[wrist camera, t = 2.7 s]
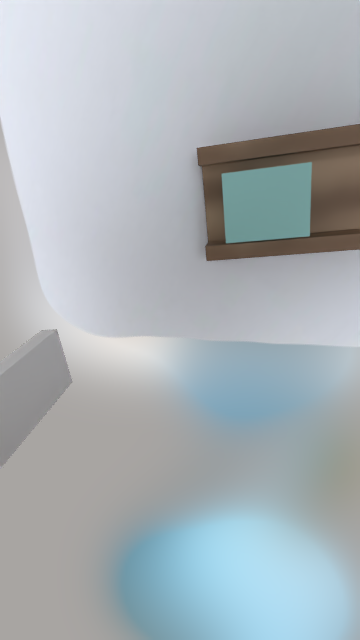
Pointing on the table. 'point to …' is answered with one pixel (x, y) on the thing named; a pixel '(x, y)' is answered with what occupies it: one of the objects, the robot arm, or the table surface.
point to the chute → (326, 190)
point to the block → (267, 203)
